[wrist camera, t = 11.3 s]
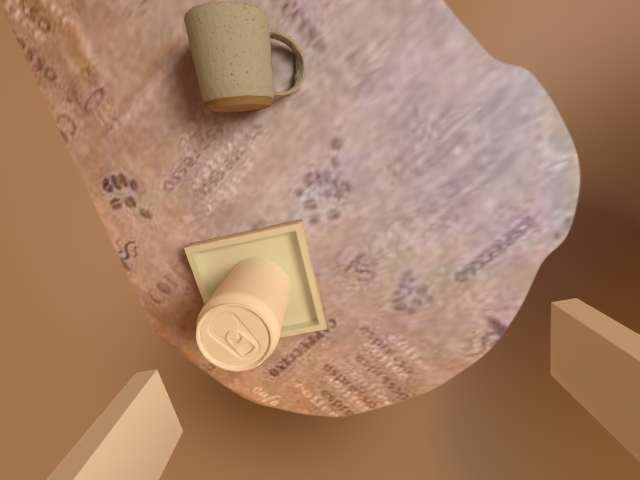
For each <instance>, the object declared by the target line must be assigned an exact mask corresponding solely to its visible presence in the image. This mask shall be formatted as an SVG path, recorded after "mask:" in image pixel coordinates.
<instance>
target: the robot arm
mask: <svg viewBox="0 0 640 480" xmlns="http://www.w3.org/2000/svg"><path fill="white" fill-rule="evenodd" d="M550 363H551V365H550V374H551V375H552V376H553V377H554V378H555V379H556V380H557V381H558V382H559V383H560V384H561V385H562V386H563V387H564V388H565V389H566V390H567V391H568V392H569V393H570V394H571V395H572V396H573V397H574V398H575V399H576V400H577V401H578V402H579V403H580V404H581V405H582V406H583V407H584V408H585V409H586V410H587V411H588V412H589V413H590V414H591V415H593V417H594V418H595V419H596V420H598V421H599V422H600V423H601V424H602V425H603V426H604V427H605V428H606V429H607V430H608V431H609V432H610V433H611V434H612V435H613V436H614V437H615V438H616V439H617V440H618V441H619V442H620V443H621V444H622V445H623V446H624V447H625V448H626V449H627V450H628V451H629V452H630V453H631V454H632V455H633V456H634V457H635V458H636V459H637V460H638V461H639V462H640V335H639V334H637V333H635V332H633V331H632V330H630V329H628V328H627V327H625V326H623V325H621V324H620V323H618V322H616V321H615V320H613V319H611V318H610V317H608V316H606V315H604V314H603V313H601V312H599V311H597V310H596V309H594V308H592V307H590V306H589V305H587V304H585V303H584V302H582V301H580V300H578V299H577V298H576V299H569V300H563V301H558V302H552V303H551V361H550ZM182 432H183V430H182V428H181V426H180V423H179V421H178V418H177V416H176V413H175V411H174V409H173V406H172V404H171V402H170V399H169V397H168V394H167V392H166V390H165V387H164V385H163V382H162V380H161V378H160V375H159V373H158V371H157V370H150V371H144V372H139V373H135V375H134V376H133V377H132V378H131V379H130V381H129V382H128V383H127V384H126V385H125V387H124V388H123V389H122V390H121V391H120V392H119V394H118V395H117V396H116V397H115V398H114V400H113V401H112V402H111V403H110V404H109V406H108V407H107V408H106V409H105V411H104V412H103V413H102V414H101V415H100V416H99V418H98V419H97V420H96V421H95V422H94V423H93V425H92V426H91V427H90V428H89V429H88V431H87V432H86V433H85V434H84V435H83V437H82V438H81V439H80V440H79V442H78V443H77V444H76V445H75V446H74V447H73V448H72V450H71V451H70V452H69V453H68V454H67V456H66V457H65V458H64V459H63V460H62V462H61V463H60V464H59V465H58V467H57V468H56V469H55V470H54V471H53V472H52V473H51V475H50V476H49V477H48V478H47V479H46V480H159V478H160V476H161V474H162V472H163V470H164V468H165V466H166V464H167V462H168V460H169V458H170V456H171V454H172V452H173V450H174V448H175V446H176V444H177V442H178V440H179V438H180V436H181V434H182Z"/></svg>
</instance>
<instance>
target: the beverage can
mask: <svg viewBox="0 0 640 480" xmlns="http://www.w3.org/2000/svg"><path fill="white" fill-rule="evenodd" d="M290 291H291V286H290V281H289V278H288V276H287V274H286V272H285V271H284V270H283V269H282V268H281V267H280V266H279V265H278V264H276V263H275V262H273V261H271V260H268V259H264V258H251V259H247V260H244V261H242V262H241V263H239V264H238V265H237V266H235V268H234V269H233V270H232V271H231V272H230V274H229V275H228V276H227V277H226V279H225V280H224V281H223V282H222V284H221V285H220V286H219V287H218V289H217V290H216V291H215V292H214V294H213V295H212V296H211V297H210V299H209V300H208V301H207V303H206V304H205V305H204V306H203V308H202V309H201V311H200V313H199V315H198V319H197V324H196V341H197V345H198V347H199V349H200V351H201V353H202V354H203V356H204V357H205V358H206V359H207V360H208V361H210V362H211V363H212V364H214V365H215V366H217V367H219V368H222V369H225V370H229V371H245V370H249V369H252V368H254V367H256V366H258V365H260V364H261V363H262V362H263V361H264V360H265V359H266V358H267V357H269V356H270V355H271V354H272V352H273V351H274V349H275V348H276V346H277V344H278V341H279V337H280V333H281V329H282V325H283V321H284V317H285V313H286V309H287V305H288V301H289V297H290Z"/></svg>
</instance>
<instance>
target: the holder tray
mask: <svg viewBox="0 0 640 480" xmlns="http://www.w3.org/2000/svg"><path fill="white" fill-rule="evenodd" d="M184 250H185V252H186V255H187V258H188V261H189V263H190V266H191V269H192V272H193V275H194V277H195V280H196V283H197V286H198V288H199V291H200V294H201V297H202V299H203V302H204V305H205V304H206V303H207V301H208V300H209V299H210V297H211V296H212V295H213V294H214V292H215V291H216V290H217V289H218V287H219V286H220V285H221V284H222V282H223V281H224V280H225V279H226V277H227V276H228V275H229V274H230V272H231V271H232V270H233V269H234V268H235V266H237V265H238V264H239V263H241V262H242V261H244V260H247V259H251V258H264V259H268V260H271V261H273V262H275V263H276V264H278V265H279V266H280V267H281V268H282V269H283V270H284V271H285V272H286V274H287V276H288V278H289V281H290V286H291V291H290V297H289V301H288V305H287V309H286V313H285V317H284V321H283V325H282V329H281V333H280V337H279V338H282V337H287V336H292V335H298V334H303V333H308V332H314V331H319V330H324V329H327V322H326V317H325V313H324V309H323V305H322V300H321V296H320V292H319V288H318V284H317V280H316V276H315V272H314V268H313V263H312V259H311V255H310V251H309V247H308V243H307V239H306V235H305V231H304V227H303V222H302V219H301V220H297V221H292V222H287V223H283V224H278V225H273V226H269V227H264V228H260V229H255V230H250V231H246V232H241V233H236V234H232V235H227V236H223V237H218V238H213V239H209V240H204V241H199V242H195V243H191V244H189V245H188V246H186V247H185V248H184Z"/></svg>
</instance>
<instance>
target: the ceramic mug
mask: <svg viewBox="0 0 640 480" xmlns="http://www.w3.org/2000/svg"><path fill="white" fill-rule="evenodd" d="M184 21H185V26H186V30H187V34H188V39H189V43H190V48H191V52H192V57H193V61H194V66H195V69H196V74H197V79H198V84H199V88H200V92H201V96H202V98H203V101H204V103H205V105H206V107H207V108H208V109H210V110H211V111H214V112H243V111H253V110H260V109H265V108H267V107H269V106H270V105H271V104H272V102H273V98H281V97H284V96H287V95H290V94H292V93H293V92H295V91H296V90H297V89H298V88H299V87H300V86H301V84H302V82H303V80H304V76H305V59H304V54H303V52H302V50H301V48H300V47H299V45H298V44H297V43H296V42H295V41H294V40H293V39H292V38H291V37H289V36H287V35H286V34H284V33H282V32H279V31H276V30H271V29H270V28H269V19H268V16H267V15H266V13H265V12H264V11H262V10H261V9H259V8H257V7H254V6H251V5H248V4H243V3H236V2H211V3H207V4H201V5H198V6H195V7H192V8H191V9H189V10H188V11H187V13H186V14H185V17H184ZM270 38H273V39H276V40H279V41H281V42H283V43H285V44H286V45H287V46H289V47H290V48H291V50H292V51H293V52H294V56H295V58H296V73H295V76H294V80H295V84H294V86H293V87H292V88H291V89H290V90H287V91H283V92H275V91H274V80H273V71H272V58H271V43H270Z"/></svg>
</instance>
